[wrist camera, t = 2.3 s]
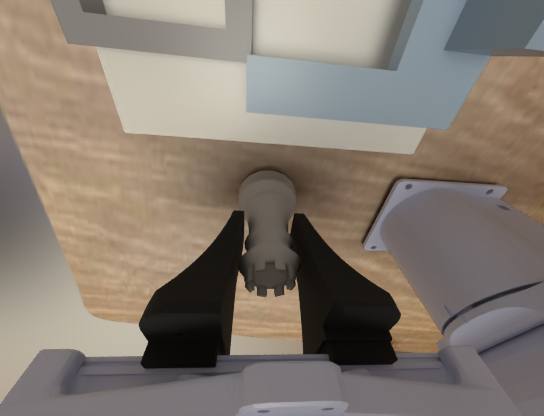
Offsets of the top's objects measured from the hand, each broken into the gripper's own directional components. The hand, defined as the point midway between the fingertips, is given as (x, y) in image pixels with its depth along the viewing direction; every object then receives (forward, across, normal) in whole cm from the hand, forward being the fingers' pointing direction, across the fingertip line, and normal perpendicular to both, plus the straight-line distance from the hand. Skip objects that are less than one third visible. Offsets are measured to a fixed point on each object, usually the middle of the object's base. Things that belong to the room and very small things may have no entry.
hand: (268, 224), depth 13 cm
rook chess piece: (+4, 0, 0) cm, 4 cm away
